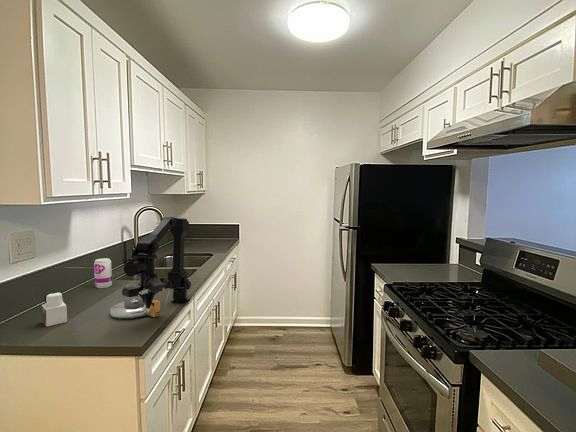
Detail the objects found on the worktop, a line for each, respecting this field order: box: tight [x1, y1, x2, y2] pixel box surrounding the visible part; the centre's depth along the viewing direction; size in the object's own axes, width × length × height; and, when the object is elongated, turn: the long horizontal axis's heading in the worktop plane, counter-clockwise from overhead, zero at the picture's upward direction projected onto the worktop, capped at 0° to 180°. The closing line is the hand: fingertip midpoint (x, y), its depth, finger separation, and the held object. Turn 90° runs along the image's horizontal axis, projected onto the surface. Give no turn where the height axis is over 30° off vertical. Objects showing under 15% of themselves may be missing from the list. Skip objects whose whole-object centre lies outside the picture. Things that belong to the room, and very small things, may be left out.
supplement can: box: [93, 257, 113, 289], centre depth 190 cm, size 8×8×15 cm
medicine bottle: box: [41, 291, 68, 328], centre depth 140 cm, size 7×7×12 cm
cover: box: [123, 296, 144, 309], centre depth 151 cm, size 8×8×4 cm
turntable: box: [109, 299, 161, 319], centre depth 150 cm, size 23×18×6 cm
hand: (148, 308), depth 143 cm, fingers closed
